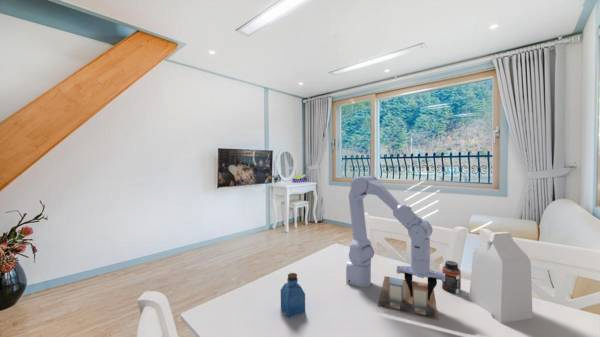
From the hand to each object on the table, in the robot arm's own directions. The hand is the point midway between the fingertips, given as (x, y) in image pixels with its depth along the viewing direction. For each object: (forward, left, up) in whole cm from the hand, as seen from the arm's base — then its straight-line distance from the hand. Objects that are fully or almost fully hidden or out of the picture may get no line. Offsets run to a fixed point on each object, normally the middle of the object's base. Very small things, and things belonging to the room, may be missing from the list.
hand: (419, 297), depth 83 cm
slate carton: (-7, 0, -3) cm, 8 cm away
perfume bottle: (-39, -18, -4) cm, 43 cm away
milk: (+24, +10, -4) cm, 26 cm away
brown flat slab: (-4, +5, -4) cm, 8 cm away
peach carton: (0, 0, -3) cm, 3 cm away
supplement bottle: (+11, +16, -4) cm, 20 cm away
